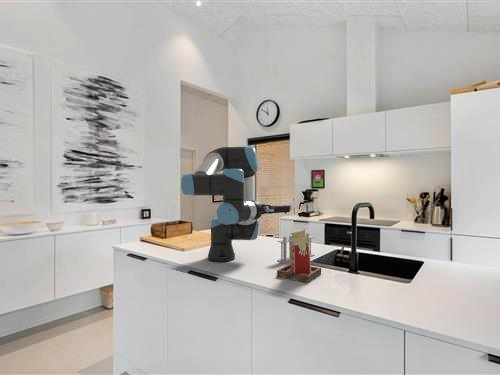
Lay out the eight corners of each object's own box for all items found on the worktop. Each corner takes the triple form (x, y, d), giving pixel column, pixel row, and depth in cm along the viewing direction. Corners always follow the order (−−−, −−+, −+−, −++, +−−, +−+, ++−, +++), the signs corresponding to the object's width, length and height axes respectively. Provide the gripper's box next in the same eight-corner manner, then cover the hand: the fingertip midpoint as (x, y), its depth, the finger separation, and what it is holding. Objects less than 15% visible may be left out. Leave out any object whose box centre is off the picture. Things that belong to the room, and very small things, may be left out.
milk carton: (307, 269, 140) (307, 227, 139) (311, 275, 130) (311, 230, 130) (288, 269, 139) (288, 227, 139) (291, 275, 130) (291, 230, 130)
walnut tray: (276, 276, 133) (277, 270, 133) (292, 268, 146) (292, 262, 145) (307, 283, 125) (307, 276, 125) (321, 273, 137) (321, 268, 137)
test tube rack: (282, 263, 155) (282, 238, 154) (277, 261, 158) (277, 236, 158) (314, 255, 170) (314, 233, 169) (309, 254, 173) (309, 232, 173)
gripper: (224, 217, 120) (254, 213, 137) (277, 223, 105) (303, 216, 123) (224, 199, 120) (254, 197, 137) (277, 202, 105) (303, 198, 122)
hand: (277, 206), depth 130 cm, fingers open, 13 cm apart
